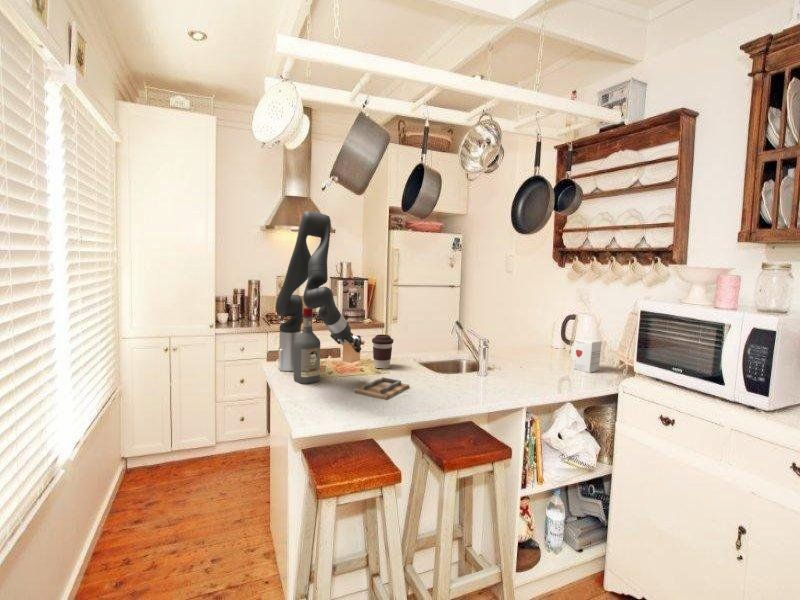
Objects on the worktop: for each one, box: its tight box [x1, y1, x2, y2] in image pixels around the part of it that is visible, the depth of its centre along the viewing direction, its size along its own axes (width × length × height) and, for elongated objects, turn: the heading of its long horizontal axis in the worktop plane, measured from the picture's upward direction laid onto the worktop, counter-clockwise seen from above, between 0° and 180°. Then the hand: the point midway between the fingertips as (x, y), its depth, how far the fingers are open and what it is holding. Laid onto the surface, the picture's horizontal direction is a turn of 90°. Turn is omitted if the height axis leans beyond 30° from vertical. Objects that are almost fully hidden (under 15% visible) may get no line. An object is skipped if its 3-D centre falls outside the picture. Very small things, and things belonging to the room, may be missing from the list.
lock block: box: [341, 334, 362, 364], centre depth 181 cm, size 6×4×10 cm
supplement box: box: [572, 337, 603, 374], centre depth 217 cm, size 9×9×15 cm
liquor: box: [293, 307, 321, 385], centre depth 181 cm, size 9×9×30 cm
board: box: [354, 376, 410, 401], centre depth 175 cm, size 18×14×3 cm
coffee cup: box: [371, 333, 394, 370], centre depth 206 cm, size 10×10×15 cm
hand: (354, 349), depth 183 cm, fingers closed on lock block, 4 cm apart
